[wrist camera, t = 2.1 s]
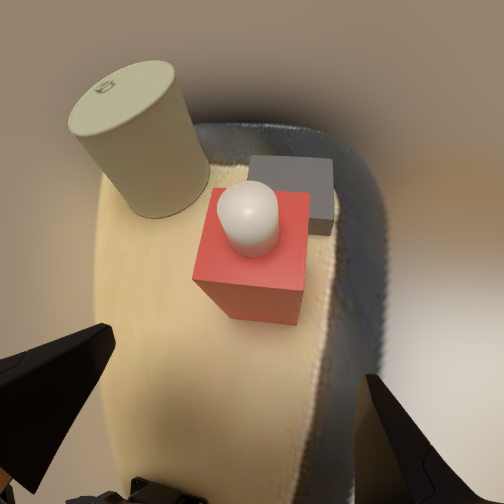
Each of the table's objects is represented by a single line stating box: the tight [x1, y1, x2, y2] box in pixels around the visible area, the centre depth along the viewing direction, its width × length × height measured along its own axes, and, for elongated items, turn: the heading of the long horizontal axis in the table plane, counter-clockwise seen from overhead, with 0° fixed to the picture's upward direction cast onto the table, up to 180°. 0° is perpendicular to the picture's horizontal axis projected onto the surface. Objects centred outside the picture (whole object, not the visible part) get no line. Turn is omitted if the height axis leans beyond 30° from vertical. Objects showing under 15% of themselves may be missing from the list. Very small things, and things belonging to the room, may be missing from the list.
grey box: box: [247, 155, 334, 236], centre depth 24 cm, size 6×7×3 cm
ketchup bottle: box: [192, 181, 310, 325], centre depth 17 cm, size 5×5×12 cm
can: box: [68, 60, 210, 218], centre depth 22 cm, size 9×9×12 cm
